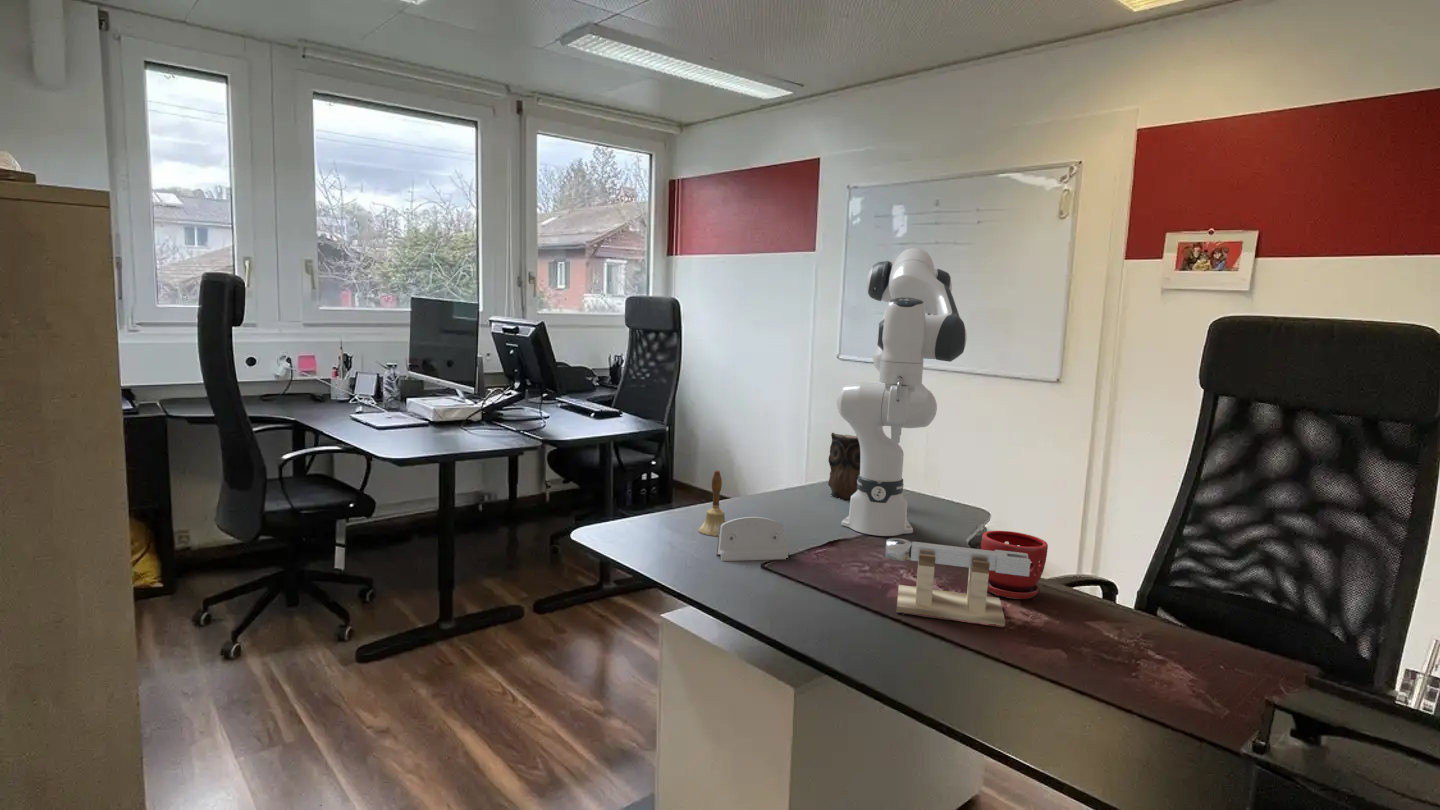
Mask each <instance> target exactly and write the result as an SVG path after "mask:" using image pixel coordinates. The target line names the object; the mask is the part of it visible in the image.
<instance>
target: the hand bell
mask: <svg viewBox="0 0 1440 810" xmlns="http://www.w3.org/2000/svg"><path fill="white" fill-rule="evenodd" d="M722 481H723V479H722V476H721V472H720V470H714V473H713V475H712V479H711V490H712V507H711V508H709V509H708V510H707V511H706V515H705V519H704V522H703V523H702V525H700V526H699V528H698V530H697V531H698V533H701V534H702V535H704V534H705V535H706V536H710V537H711V536H712V537H718V533H719V526H720V525H721V524H722V523H725V522H726V518H725V511H724V510H722V509H721V508H720V493H721V490H722V486H723V485H722V484H723V483H722ZM705 535H704V536H705Z"/></svg>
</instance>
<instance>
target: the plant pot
mask: <svg viewBox="0 0 1440 810" xmlns="http://www.w3.org/2000/svg"><path fill="white" fill-rule="evenodd" d="M1006 542H1007V543H1006ZM980 544H981V546H980V549H981V550H990V551H995V550H1002V551H1011V552H1019V553H1027V554H1028V559H1030V561H1031V563H1030V572H1029V577H1028V576H1020V575H1012V574H1004V573H996V571H993V570H989V577H988V587H987V592H989V593H991V594H993V595H996V596H997V597H998V596H999V597H1001V596H1002V597H1001V598H1004V597H1006V598H1010V599H1011V598H1012V599H1013V600H1027V599H1030V598H1033V597H1035V596H1036V595H1038V593H1039V592H1040V591H1039V590H1040V589H1039V588H1040V587H1039V586H1038V585H1037V584H1038V582H1039V580H1040V579H1041V577H1042V576H1043V573H1044V570H1045V566H1046V562H1047V556H1048V549H1049V548H1048V547H1049V545H1048V542H1046V540H1045V539H1044V540H1043V539H1042V538H1039V537H1038V536H1034V535H1030V534H1027V533H1022V532H1017V531H1008V530H988V531H985V532H983V533H982V537H981V542H980ZM1006 598H1005V599H1006ZM1012 599H1011V600H1012Z"/></svg>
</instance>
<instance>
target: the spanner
mask: <svg viewBox="0 0 1440 810" xmlns="http://www.w3.org/2000/svg"><path fill="white" fill-rule="evenodd" d="M885 542H886V543H885V553H884V555H885V558H888V559H890V560H893V561H902V562H903V561H913V562H918V561H919V554H929V555H935V565H937V564H938V565H944V566H945V565H946V566H954V567H960V568H961V567H963V568H968V569H969V568H972V563H973V560H979V561H987V562H989V563H990V566H989V570H993V571H996V573H1004V574H1012V575H1020V576H1028V577H1029V572H1030V563H1031V561H1030V559H1028V554H1027V553H1019V552H1011V551H1002V550H995V551H990V550H981V548H972V547H962V546H956V545H955V546H953V545H945V544H936V543H929V542H921V541H910V540H908V539H904V538H897V537H896V538H895V537H892V538H888V539H886V541H885Z"/></svg>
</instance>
